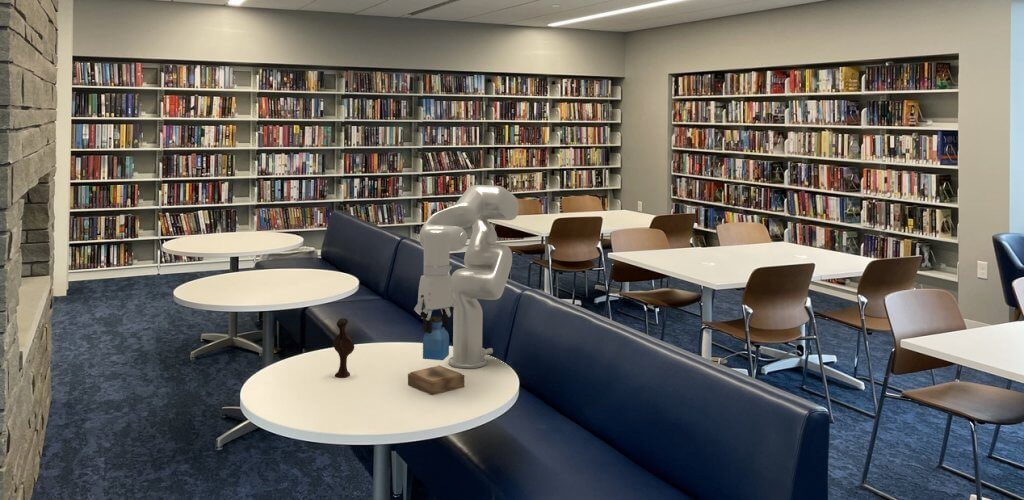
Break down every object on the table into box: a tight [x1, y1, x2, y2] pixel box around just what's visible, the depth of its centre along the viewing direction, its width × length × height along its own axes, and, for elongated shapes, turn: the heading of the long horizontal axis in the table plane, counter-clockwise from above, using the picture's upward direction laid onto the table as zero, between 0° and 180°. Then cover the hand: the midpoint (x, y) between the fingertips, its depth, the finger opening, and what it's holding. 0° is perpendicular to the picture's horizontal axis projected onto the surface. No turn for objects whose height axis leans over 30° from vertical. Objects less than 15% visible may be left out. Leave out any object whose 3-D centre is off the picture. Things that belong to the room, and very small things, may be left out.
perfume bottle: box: [422, 315, 450, 361], centre depth 234 cm, size 6×6×12 cm
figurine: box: [332, 317, 355, 379], centre depth 243 cm, size 7×5×18 cm
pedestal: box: [407, 365, 465, 396], centre depth 236 cm, size 12×12×4 cm
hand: (436, 330), depth 233 cm, fingers closed on perfume bottle, 5 cm apart
